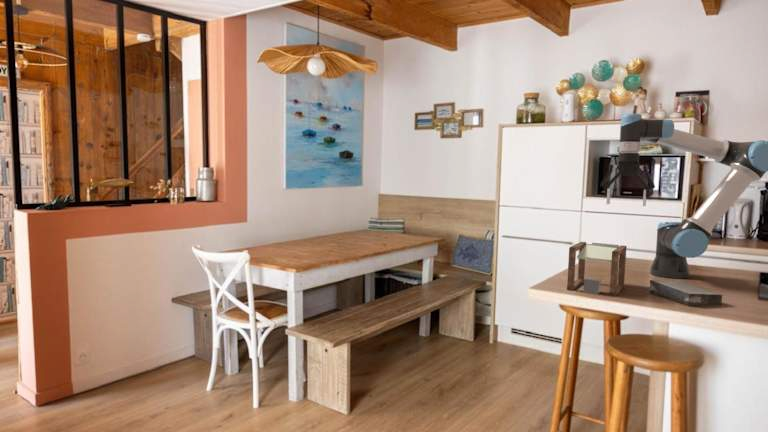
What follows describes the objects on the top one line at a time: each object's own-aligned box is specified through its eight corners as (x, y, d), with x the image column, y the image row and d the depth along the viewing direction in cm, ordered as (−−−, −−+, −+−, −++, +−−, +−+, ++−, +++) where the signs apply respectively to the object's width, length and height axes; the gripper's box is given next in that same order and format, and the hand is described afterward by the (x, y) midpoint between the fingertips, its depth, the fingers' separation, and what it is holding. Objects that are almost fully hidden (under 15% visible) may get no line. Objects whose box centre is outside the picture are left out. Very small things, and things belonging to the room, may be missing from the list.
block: (688, 307, 176) (689, 292, 176) (647, 293, 195) (649, 279, 195) (722, 306, 179) (724, 292, 178) (679, 292, 198) (681, 279, 198)
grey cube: (598, 281, 190) (597, 294, 191) (601, 278, 194) (600, 292, 195) (584, 279, 193) (583, 292, 193) (586, 276, 197) (586, 290, 198)
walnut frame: (623, 286, 204) (626, 245, 202) (615, 296, 188) (618, 252, 186) (578, 280, 213) (580, 241, 211) (567, 289, 197) (569, 247, 195)
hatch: (621, 254, 208) (621, 241, 207) (611, 273, 192) (611, 259, 190) (589, 251, 215) (589, 238, 213) (577, 269, 198) (577, 255, 197)
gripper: (594, 152, 217) (591, 203, 219) (662, 152, 204) (659, 207, 206) (598, 152, 223) (595, 202, 225) (664, 153, 210) (661, 206, 212)
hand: (625, 205), depth 216 cm, fingers open, 13 cm apart
